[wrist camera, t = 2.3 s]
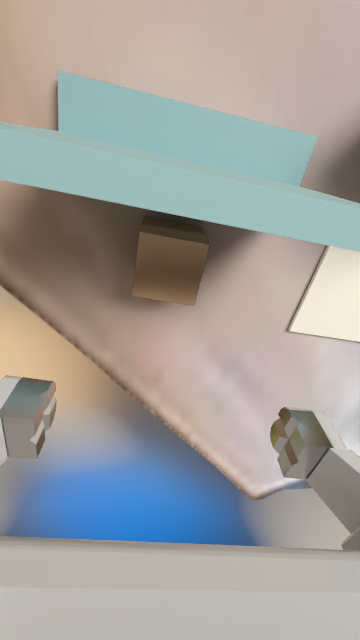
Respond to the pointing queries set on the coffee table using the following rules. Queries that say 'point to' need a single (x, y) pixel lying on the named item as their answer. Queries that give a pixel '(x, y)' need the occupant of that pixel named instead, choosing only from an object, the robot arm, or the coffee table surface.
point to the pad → (332, 297)
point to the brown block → (169, 261)
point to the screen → (177, 163)
